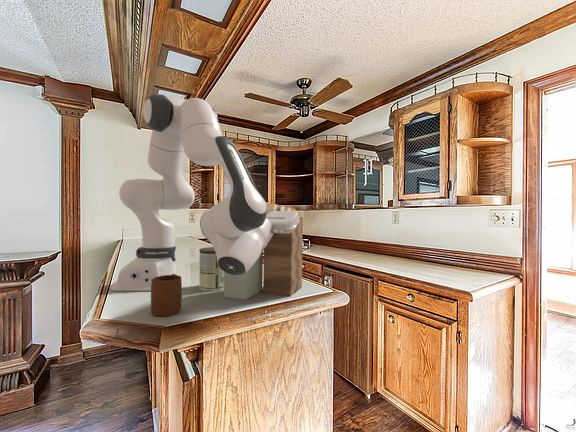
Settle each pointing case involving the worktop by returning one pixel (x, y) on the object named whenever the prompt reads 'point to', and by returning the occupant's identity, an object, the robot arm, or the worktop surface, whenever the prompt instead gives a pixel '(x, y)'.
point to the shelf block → (244, 282)
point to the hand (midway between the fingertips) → (274, 208)
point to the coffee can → (210, 271)
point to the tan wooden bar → (275, 207)
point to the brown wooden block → (284, 262)
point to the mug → (166, 295)
